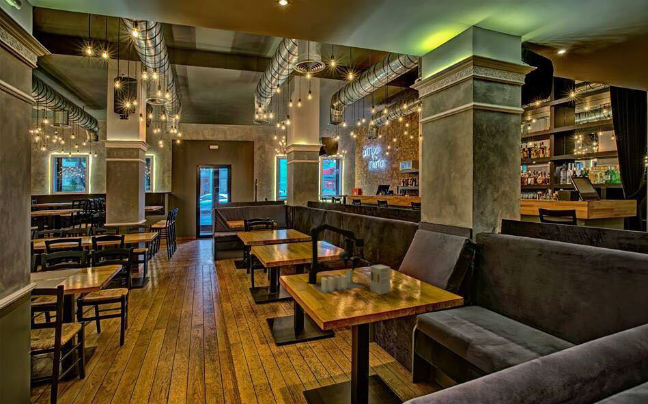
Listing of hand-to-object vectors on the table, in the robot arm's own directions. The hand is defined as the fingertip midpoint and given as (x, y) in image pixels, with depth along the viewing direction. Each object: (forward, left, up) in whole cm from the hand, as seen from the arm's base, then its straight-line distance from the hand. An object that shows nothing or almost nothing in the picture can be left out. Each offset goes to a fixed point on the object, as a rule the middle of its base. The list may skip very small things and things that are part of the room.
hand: (349, 269), depth 247 cm
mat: (+6, -13, -10) cm, 17 cm away
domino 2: (+10, -21, -9) cm, 25 cm away
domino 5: (0, 0, -9) cm, 9 cm away
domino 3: (+10, -16, -9) cm, 21 cm away
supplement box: (+27, +6, -10) cm, 29 cm away
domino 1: (+10, -26, -9) cm, 29 cm away
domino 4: (+10, -11, -9) cm, 17 cm away
